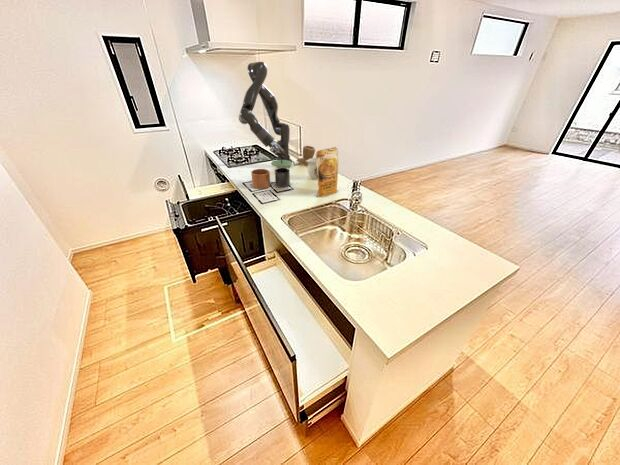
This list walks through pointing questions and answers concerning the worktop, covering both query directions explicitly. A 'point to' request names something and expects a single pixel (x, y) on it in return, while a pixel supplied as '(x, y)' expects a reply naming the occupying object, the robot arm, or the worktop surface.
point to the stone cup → (306, 155)
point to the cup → (282, 177)
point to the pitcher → (312, 168)
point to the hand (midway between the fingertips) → (284, 157)
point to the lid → (281, 161)
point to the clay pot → (260, 178)
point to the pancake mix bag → (327, 171)
